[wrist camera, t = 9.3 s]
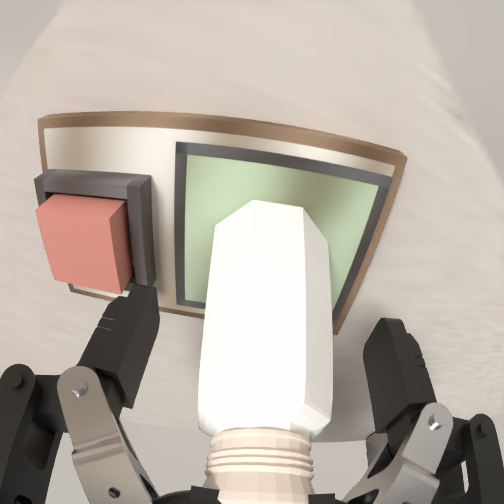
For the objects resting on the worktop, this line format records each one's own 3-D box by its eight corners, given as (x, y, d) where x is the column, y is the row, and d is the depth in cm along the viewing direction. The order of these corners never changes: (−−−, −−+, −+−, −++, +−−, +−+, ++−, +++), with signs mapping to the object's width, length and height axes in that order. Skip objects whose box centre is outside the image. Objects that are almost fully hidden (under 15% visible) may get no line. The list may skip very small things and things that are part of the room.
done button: (125, 200, 12) (108, 218, 11) (133, 273, 14) (121, 294, 13) (54, 193, 12) (35, 209, 11) (68, 261, 14) (54, 279, 13)
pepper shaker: (230, 302, 16) (198, 518, 7) (193, 212, 13) (90, 476, 4) (333, 284, 15) (366, 514, 6) (317, 184, 12) (388, 489, 3)
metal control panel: (399, 150, 12) (420, 169, 10) (335, 323, 18) (340, 353, 16) (49, 114, 12) (19, 127, 10) (77, 281, 18) (60, 306, 16)
